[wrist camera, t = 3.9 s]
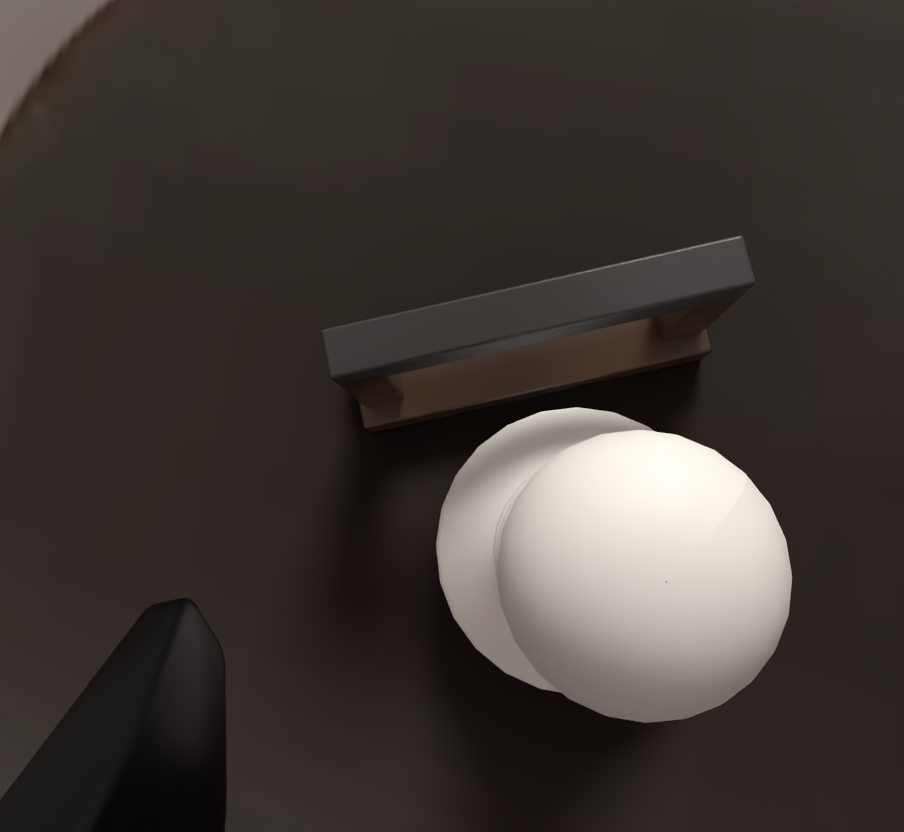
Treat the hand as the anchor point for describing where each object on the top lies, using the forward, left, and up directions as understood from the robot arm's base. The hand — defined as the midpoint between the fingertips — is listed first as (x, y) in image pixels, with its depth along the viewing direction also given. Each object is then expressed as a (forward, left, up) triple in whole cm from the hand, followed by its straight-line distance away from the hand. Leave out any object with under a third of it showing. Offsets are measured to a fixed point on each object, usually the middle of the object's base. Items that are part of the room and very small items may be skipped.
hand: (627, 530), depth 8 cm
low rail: (+2, +3, -8) cm, 8 cm away
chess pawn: (0, 0, -8) cm, 8 cm away
